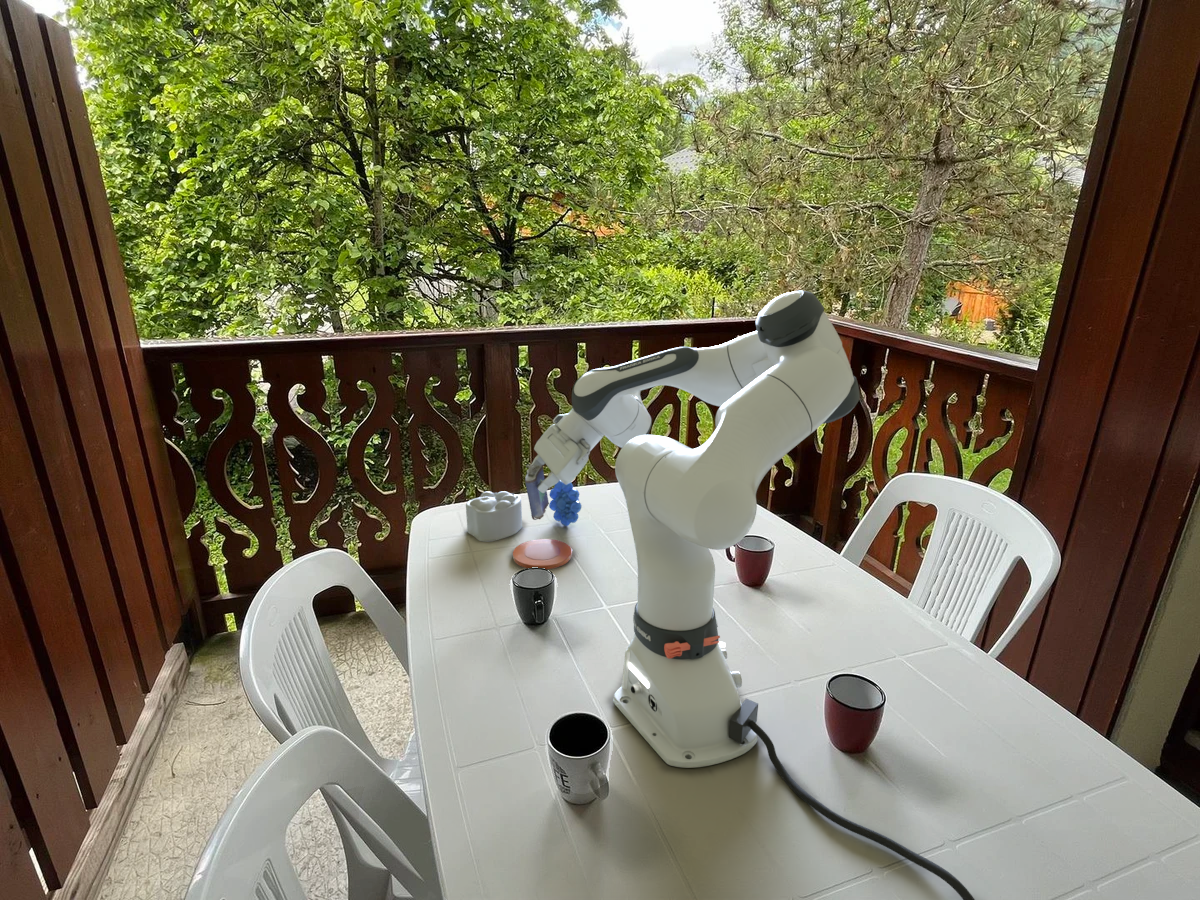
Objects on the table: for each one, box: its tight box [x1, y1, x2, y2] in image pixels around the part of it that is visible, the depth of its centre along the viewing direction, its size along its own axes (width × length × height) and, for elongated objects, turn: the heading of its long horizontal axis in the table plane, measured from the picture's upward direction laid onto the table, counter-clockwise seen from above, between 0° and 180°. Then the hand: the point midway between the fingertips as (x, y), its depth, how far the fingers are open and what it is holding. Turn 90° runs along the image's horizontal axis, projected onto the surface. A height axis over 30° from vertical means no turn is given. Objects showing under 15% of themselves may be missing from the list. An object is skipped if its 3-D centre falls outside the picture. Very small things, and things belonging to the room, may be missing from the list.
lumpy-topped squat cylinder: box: [465, 490, 523, 543], centre depth 152 cm, size 10×13×9 cm
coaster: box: [512, 538, 573, 570], centre depth 140 cm, size 13×13×1 cm
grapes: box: [548, 480, 582, 527], centre depth 154 cm, size 12×7×12 cm, turn 40°
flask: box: [524, 463, 550, 521], centre depth 134 cm, size 9×3×11 cm, turn 173°
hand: (534, 482), depth 134 cm, fingers closed on flask, 8 cm apart
